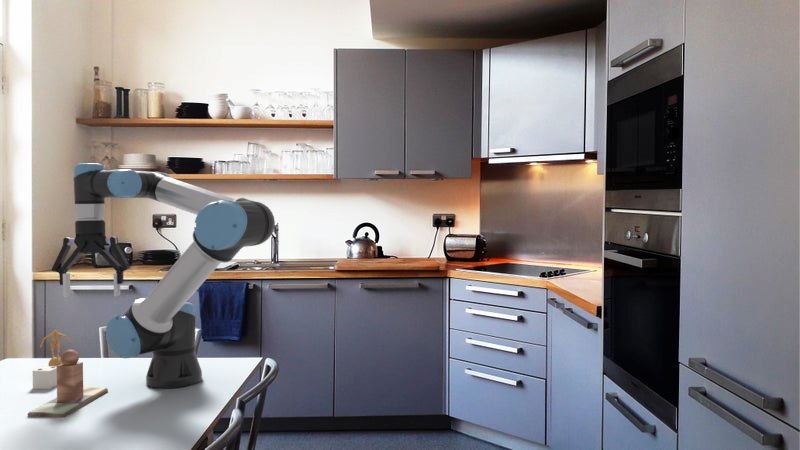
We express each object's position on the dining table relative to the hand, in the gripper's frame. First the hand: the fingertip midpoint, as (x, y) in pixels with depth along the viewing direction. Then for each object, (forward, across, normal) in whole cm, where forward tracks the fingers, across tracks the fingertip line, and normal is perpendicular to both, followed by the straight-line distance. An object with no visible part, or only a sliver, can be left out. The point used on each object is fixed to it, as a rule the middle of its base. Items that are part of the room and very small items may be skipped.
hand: (92, 296), depth 179 cm
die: (+25, +14, -2) cm, 29 cm away
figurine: (+25, +20, -21) cm, 39 cm away
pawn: (+24, 0, +15) cm, 28 cm away
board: (+25, 0, +15) cm, 29 cm away
